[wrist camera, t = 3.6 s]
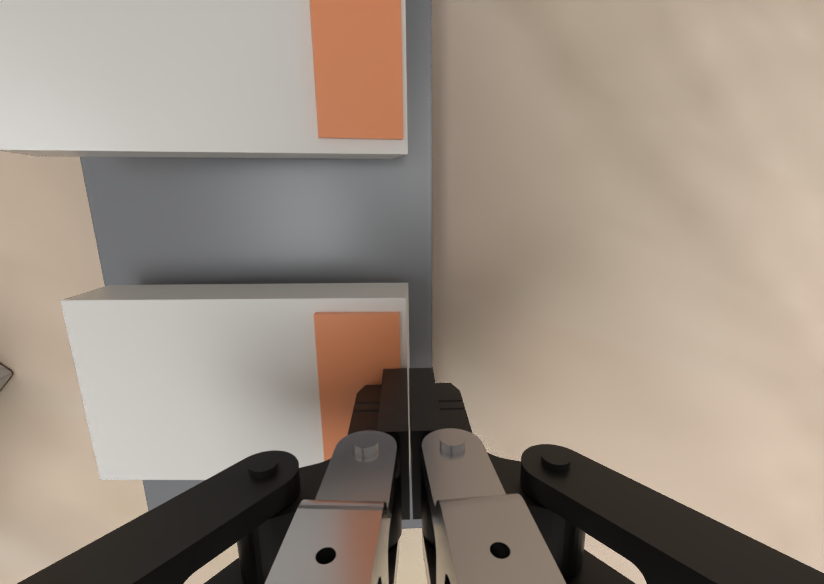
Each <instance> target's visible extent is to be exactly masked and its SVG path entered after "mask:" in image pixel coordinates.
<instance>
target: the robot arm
mask: <svg viewBox="0 0 824 584" xmlns="http://www.w3.org/2000/svg"><path fill="white" fill-rule="evenodd" d="M409 416H410V452H411V480H412V508H413V519H422V544H423V556H424V562H425V569H426V576H427V582H428V584H635V583H634V582H632V581H631V580H629V579H628V578H626V577H625V576H623V575H622V574H620V573H619V572H617V571H616V570H614V569H613V568H611V567H610V566H608V565H607V564H605V563H604V562H602V561H601V560H599V559H598V558H596V557H595V556H593V555H592V554H590V553H589V552H587V551H586V550H584V542H585V533H587V534H588V535H590V536H592V537H593V538H595V539H596V540H598V541H600V542H601V543H603V544H604V545H606V546H607V547H609V548H611V549H612V550H614V551H615V552H617V553H618V554H620V555H622V556H623V557H625V558H626V559H628V560H629V561H631V562H632V563H633V564H634V565H635V566H636V567H637V568H638V569H639V570H640V572H641V573H642V574H643V576H644V578H645V580H646V583H647V584H824V573H822V572H820V571H818V570H816V569H814V568H812V567H810V566H808V565H805V564H803V563H801V562H799V561H797V560H795V559H793V558H791V557H789V556H787V555H785V554H783V553H781V552H779V551H777V550H775V549H773V548H771V547H769V546H767V545H765V544H763V543H761V542H759V541H756V540H754V539H752V538H750V537H748V536H746V535H744V534H742V533H740V532H738V531H736V530H734V529H732V528H730V527H728V526H726V525H724V524H722V523H720V522H718V521H716V520H714V519H712V518H710V517H707V516H705V515H703V514H701V513H699V512H697V511H695V510H693V509H691V508H689V507H687V506H685V505H683V504H681V503H679V502H677V501H675V500H673V499H671V498H669V497H667V496H665V495H663V494H661V493H658V492H656V491H654V490H652V489H650V488H648V487H646V486H644V485H642V484H640V483H638V482H636V481H634V480H632V479H630V478H628V477H626V476H624V475H622V474H620V473H618V472H616V471H614V470H612V469H609V468H607V467H605V466H603V465H601V464H599V463H597V462H595V461H593V460H591V459H589V458H587V457H585V456H583V455H581V454H579V453H577V452H575V451H573V450H570V449H568V448H565V447H562V446H557V445H551V444H541V445H535V446H532V447H530V448H528V449H526V450H525V451H524V452H523V454H522V456H521V462H520V461H514V460H509V459H504V458H500V457H497V456H494V455H491V454H489V453H487V452H486V449H485V447H484V445H483V443H482V441H481V440H480V439H479V438H478V437H477V436H476V435H474V434H472V430H471V427H470V424H469V420H468V417H467V413H466V410H465V407H464V403H463V400H462V397H461V393H460V391H459V390H458V389H457V388H456V387H455V386H453V385H452V384H451V383H435V379H434V373H433V368H409ZM402 520H410V480H409V424H408V392H407V368H396V369H383V375H382V384H381V385H365V386H364V387H363V388H362V389H361V390H360V391H359V392H358V393H357V395H356V399H355V404H354V408H353V413H352V417H351V422H350V426H349V430H348V435H347V436H345V437H344V438H342V439H341V440H340V441H339V442H338V443H337V445H336V447H335V449H334V452H333V455H332V457H331V458H330V459H328V460H326V461H323V462H321V463H317V464H313V465H309V466H305V467H301V468H299V462H298V460H297V458H296V457H295V456H294V455H293V454H291V453H289V452H285V451H279V450H272V451H264V452H260V453H256V454H254V455H251V456H249V457H247V458H245V459H243V460H241V461H239V462H238V463H236V464H234V465H232V466H230V467H228V468H227V469H225V470H223V471H221V472H219V473H217V474H216V475H214V476H212V477H210V478H208V479H207V480H205V481H203V482H201V483H199V484H197V485H196V486H194V487H192V488H190V489H188V490H187V491H185V492H183V493H181V494H179V495H177V496H176V497H174V498H172V499H170V500H168V501H167V502H165V503H163V504H161V505H159V506H157V507H156V508H154V509H152V510H150V511H148V512H147V513H145V514H143V515H141V516H139V517H137V518H136V519H134V520H132V521H130V522H128V523H127V524H125V525H123V526H121V527H119V528H117V529H116V530H114V531H112V532H110V533H108V534H107V535H105V536H103V537H101V538H99V539H97V540H96V541H94V542H92V543H90V544H88V545H87V546H85V547H83V548H81V549H79V550H77V551H76V552H74V553H72V554H70V555H68V556H67V557H65V558H63V559H61V560H59V561H57V562H56V563H54V564H52V565H50V566H48V567H47V568H45V569H43V570H41V571H39V572H37V573H36V574H34V575H32V576H30V577H28V578H27V579H25V580H23V581H21V582H19V583H17V584H183V583H184V582H185V581H186V580H187V579H188V577H189V576H190V575H192V574H193V573H194V572H195V571H197V570H198V569H199V568H201V567H202V566H204V565H205V564H206V563H208V562H209V561H211V560H212V559H214V558H215V557H216V556H218V555H219V554H221V553H222V552H223V551H225V550H226V549H228V548H229V547H230V546H232V545H233V544H235V543H236V542H237V546H238V553H239V558H238V559H236V560H235V561H234V562H232V563H231V564H230V565H228V566H227V567H226V568H224V569H223V570H222V571H220V572H219V573H218V574H216V575H215V576H213V577H212V578H211V579H209V580H208V581H207V582H205V583H204V584H396V580H397V569H398V559H399V538H400V536H401V532H402Z"/></svg>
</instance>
